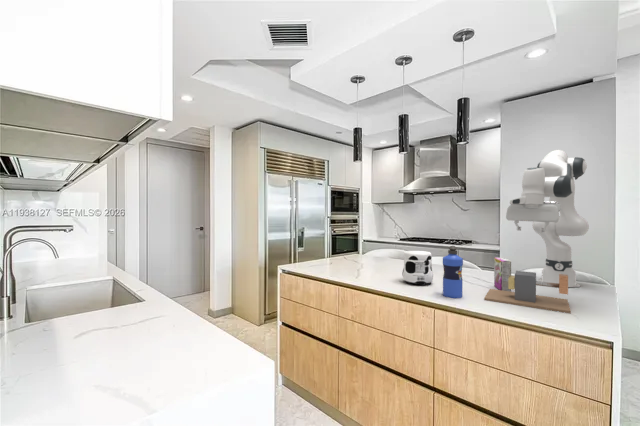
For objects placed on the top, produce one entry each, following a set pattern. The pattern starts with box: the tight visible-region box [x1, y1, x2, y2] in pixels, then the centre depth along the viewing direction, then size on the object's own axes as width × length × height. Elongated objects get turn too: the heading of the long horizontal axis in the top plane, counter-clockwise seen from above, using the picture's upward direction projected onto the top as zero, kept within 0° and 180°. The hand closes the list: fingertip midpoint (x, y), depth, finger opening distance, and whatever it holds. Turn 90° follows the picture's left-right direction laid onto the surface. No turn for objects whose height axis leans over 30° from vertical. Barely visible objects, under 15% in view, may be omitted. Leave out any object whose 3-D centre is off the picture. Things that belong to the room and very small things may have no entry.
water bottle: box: [442, 245, 464, 299], centre depth 152 cm, size 9×9×25 cm
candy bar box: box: [493, 256, 512, 292], centre depth 164 cm, size 11×5×16 cm, turn 168°
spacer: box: [508, 274, 515, 291], centre depth 147 cm, size 6×2×6 cm, turn 144°
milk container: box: [401, 250, 434, 285], centre depth 179 cm, size 17×17×18 cm
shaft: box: [503, 274, 569, 295], centre depth 142 cm, size 4×24×8 cm, turn 54°
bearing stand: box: [483, 270, 572, 314], centre depth 144 cm, size 20×32×13 cm, turn 54°
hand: (530, 231), depth 140 cm, fingers open, 8 cm apart
